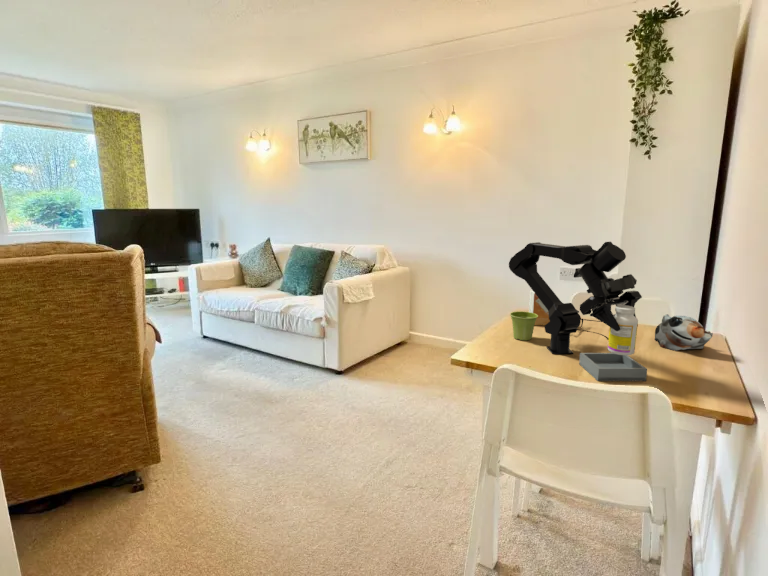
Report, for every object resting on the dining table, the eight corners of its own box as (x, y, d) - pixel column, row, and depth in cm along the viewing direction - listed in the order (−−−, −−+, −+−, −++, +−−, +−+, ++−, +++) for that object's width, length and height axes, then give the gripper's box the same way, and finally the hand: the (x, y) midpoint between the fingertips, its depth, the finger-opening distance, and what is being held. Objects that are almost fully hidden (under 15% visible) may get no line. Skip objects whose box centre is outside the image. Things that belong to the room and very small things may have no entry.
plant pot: (530, 333, 159) (532, 310, 157) (540, 341, 150) (542, 317, 148) (505, 334, 159) (506, 311, 157) (514, 342, 150) (515, 318, 148)
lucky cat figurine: (709, 346, 142) (725, 315, 133) (694, 368, 136) (709, 337, 128) (660, 325, 151) (672, 295, 143) (645, 344, 146) (655, 314, 137)
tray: (579, 364, 129) (580, 352, 128) (622, 364, 128) (623, 352, 127) (597, 381, 116) (598, 368, 116) (646, 381, 116) (647, 368, 115)
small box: (532, 325, 170) (533, 293, 167) (528, 321, 176) (529, 290, 173) (553, 325, 169) (555, 293, 167) (548, 321, 175) (550, 290, 173)
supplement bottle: (618, 346, 124) (623, 303, 122) (639, 354, 119) (645, 308, 116) (601, 349, 122) (606, 305, 119) (622, 357, 116) (627, 311, 113)
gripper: (592, 267, 115) (626, 318, 107) (639, 262, 122) (673, 309, 115) (566, 290, 123) (595, 338, 116) (611, 284, 131) (641, 329, 124)
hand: (627, 328), depth 117 cm, fingers closed on supplement bottle, 7 cm apart
